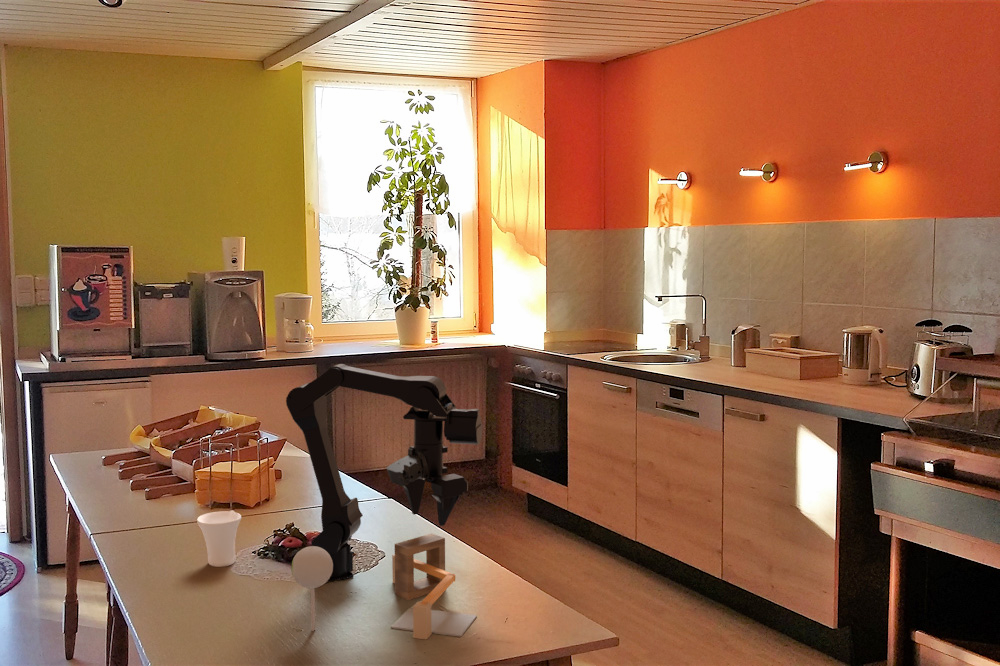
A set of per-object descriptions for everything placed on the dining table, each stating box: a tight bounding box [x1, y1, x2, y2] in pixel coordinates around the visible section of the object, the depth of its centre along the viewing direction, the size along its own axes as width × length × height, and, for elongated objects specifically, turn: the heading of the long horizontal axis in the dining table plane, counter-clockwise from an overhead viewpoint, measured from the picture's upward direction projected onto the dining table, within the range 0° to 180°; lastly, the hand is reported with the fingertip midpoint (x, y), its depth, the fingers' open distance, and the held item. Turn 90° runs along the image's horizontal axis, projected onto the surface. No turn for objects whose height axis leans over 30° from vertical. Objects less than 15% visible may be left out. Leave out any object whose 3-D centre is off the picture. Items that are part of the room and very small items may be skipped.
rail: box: [391, 554, 456, 640], centre depth 183 cm, size 13×28×6 cm, turn 29°
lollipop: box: [290, 545, 333, 632], centre depth 172 cm, size 7×7×15 cm
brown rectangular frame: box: [394, 533, 446, 601], centre depth 191 cm, size 4×9×10 cm, turn 134°
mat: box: [390, 607, 477, 638], centre depth 176 cm, size 9×13×1 cm
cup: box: [196, 509, 242, 568], centre depth 207 cm, size 9×9×10 cm
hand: (428, 519), depth 194 cm, fingers open, 9 cm apart
